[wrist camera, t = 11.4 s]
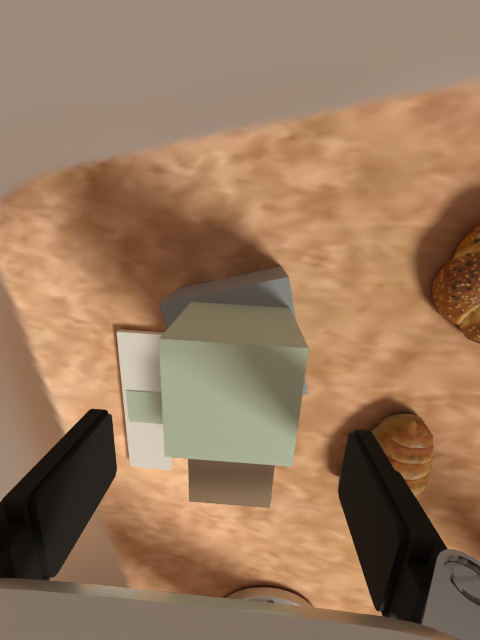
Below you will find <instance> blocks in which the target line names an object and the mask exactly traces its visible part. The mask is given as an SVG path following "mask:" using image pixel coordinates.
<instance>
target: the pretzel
mask: <svg viewBox="0 0 480 640" xmlns="http://www.w3.org/2000/svg"><path fill="white" fill-rule="evenodd" d="M432 288H433V289H432V293H433V295H432V297H433V299H434V303H435V305H436V307H437V309H438V311H439V312H440V313H441V315H442V316H443V317H444V318H445V319H446V320H448V321H450V323H454V324H456V325H459V327H460V329H461V330H462V332H463V333H464V335H465V336H466V337H467V338H468V339H469V340H472V341H474V342H476V343H479V344H480V224H479V225H478V226H476V227H475V228H474V229H472V230H470V231H469V233H468V234H467V235H466V236H465V238H464V239H463V240H462V241H461V243H460V244H459V245H458V247H457V248H456V251H455V254H454V256H453V259H452V260H451V261H449V262H448V263H447V264H445V265H444V266H443V267H442V269H441V270H440V271H439V273H438V274H437V276H436V278H435V280H434V282H433V286H432Z"/></svg>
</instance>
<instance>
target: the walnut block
mask: <svg viewBox="0 0 480 640" xmlns="http://www.w3.org/2000/svg"><path fill="white" fill-rule="evenodd" d="M188 469H189V501H192V502H204V503H216V504H228V505H240V506H252V507H265V508H270V502H271V493H272V483H273V474H274V465H264V464H251V463H238V462H225V461H212V460H200V459H188Z"/></svg>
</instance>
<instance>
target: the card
mask: <svg viewBox="0 0 480 640" xmlns="http://www.w3.org/2000/svg"><path fill="white" fill-rule="evenodd" d="M163 334H164V332H154V331H138V330H123V329H120V330H118V331H117V342H118V352H119V362H120V372H121V382H122V392H123V402H124V411H125V421H126V431H127V441H128V451H129V461H130V467H139V468H151V469H163V470H171V468H172V465H173V461H172V457H165V455H164V435H163V414H162V393H161V372H160V351H159V338H160V337H161V336H162V335H163Z"/></svg>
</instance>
